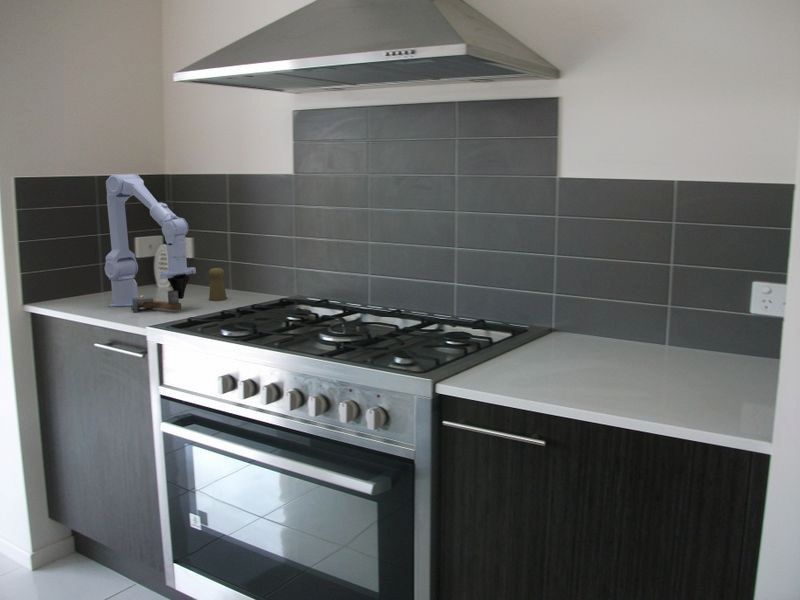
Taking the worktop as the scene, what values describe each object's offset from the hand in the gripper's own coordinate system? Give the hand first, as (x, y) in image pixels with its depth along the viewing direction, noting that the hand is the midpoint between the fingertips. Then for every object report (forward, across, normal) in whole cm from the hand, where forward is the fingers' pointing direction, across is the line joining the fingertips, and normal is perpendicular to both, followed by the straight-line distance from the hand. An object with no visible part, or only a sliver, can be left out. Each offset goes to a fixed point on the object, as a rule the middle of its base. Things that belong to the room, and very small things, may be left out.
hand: (179, 298), depth 258 cm
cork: (+4, +21, +2) cm, 21 cm away
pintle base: (+4, -2, +14) cm, 15 cm away
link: (+3, -3, +7) cm, 8 cm away
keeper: (+4, -6, +10) cm, 12 cm away
